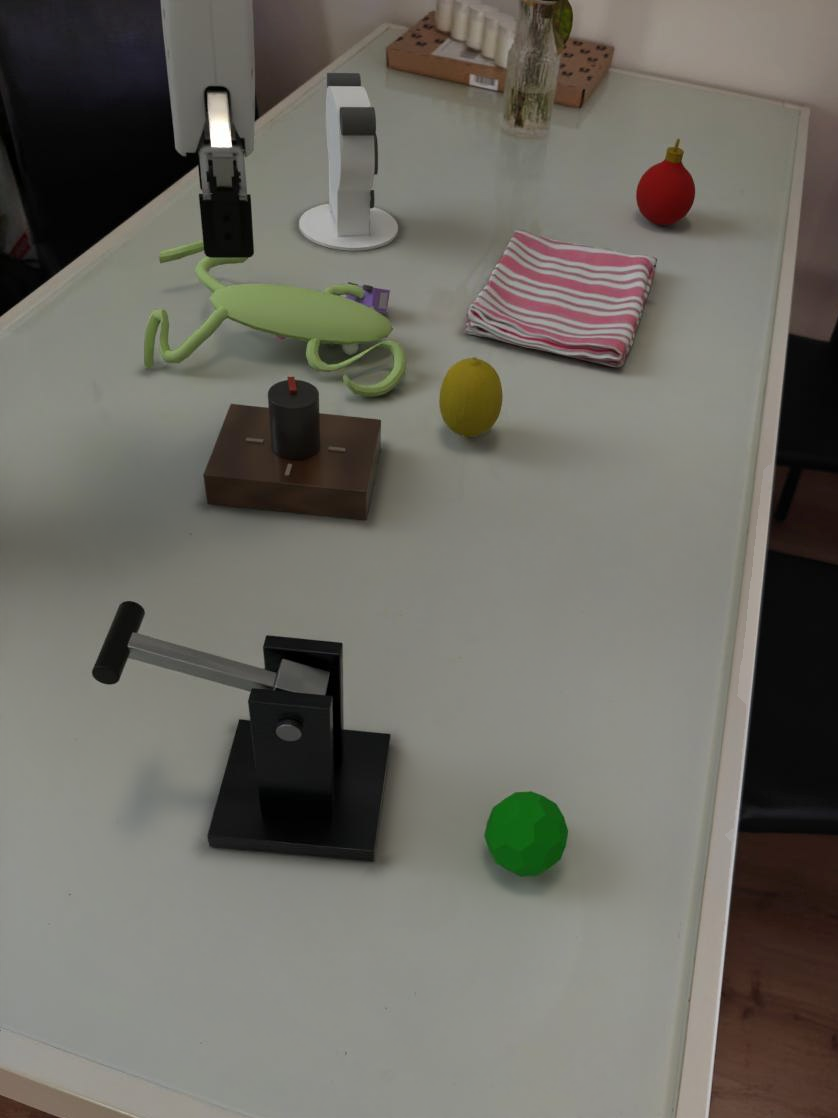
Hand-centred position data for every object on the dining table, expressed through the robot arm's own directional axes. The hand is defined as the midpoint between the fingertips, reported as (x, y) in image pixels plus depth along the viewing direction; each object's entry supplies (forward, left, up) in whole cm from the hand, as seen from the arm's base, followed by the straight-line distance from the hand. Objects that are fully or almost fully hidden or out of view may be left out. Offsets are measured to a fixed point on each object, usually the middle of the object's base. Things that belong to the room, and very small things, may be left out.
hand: (226, 221), depth 71 cm
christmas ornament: (+39, +57, -22) cm, 73 cm away
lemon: (+18, +8, -22) cm, 29 cm away
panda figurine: (+2, +46, -22) cm, 51 cm away
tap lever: (+5, -32, -11) cm, 34 cm away
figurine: (-2, +21, -22) cm, 30 cm away
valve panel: (+4, 0, -22) cm, 22 cm away
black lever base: (+10, -32, -22) cm, 40 cm away
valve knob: (+4, 0, -18) cm, 19 cm away
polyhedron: (+24, -35, -22) cm, 48 cm away
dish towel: (+27, +34, -22) cm, 49 cm away
